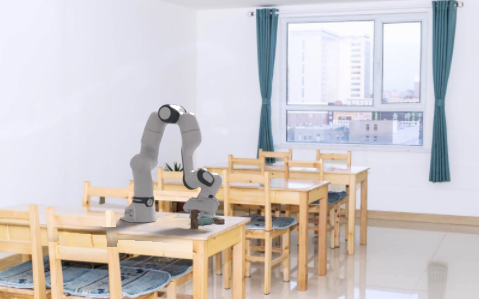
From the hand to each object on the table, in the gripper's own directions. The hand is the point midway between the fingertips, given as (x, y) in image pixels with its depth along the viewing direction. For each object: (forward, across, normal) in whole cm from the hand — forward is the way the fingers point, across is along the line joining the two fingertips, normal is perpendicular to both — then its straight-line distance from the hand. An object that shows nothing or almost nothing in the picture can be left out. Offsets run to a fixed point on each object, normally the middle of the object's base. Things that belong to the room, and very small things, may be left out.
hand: (193, 218), depth 323 cm
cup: (-8, -6, +15) cm, 18 cm away
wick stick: (+3, 0, +4) cm, 5 cm away
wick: (-13, -1, +21) cm, 25 cm away
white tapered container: (-18, -13, +25) cm, 33 cm away
